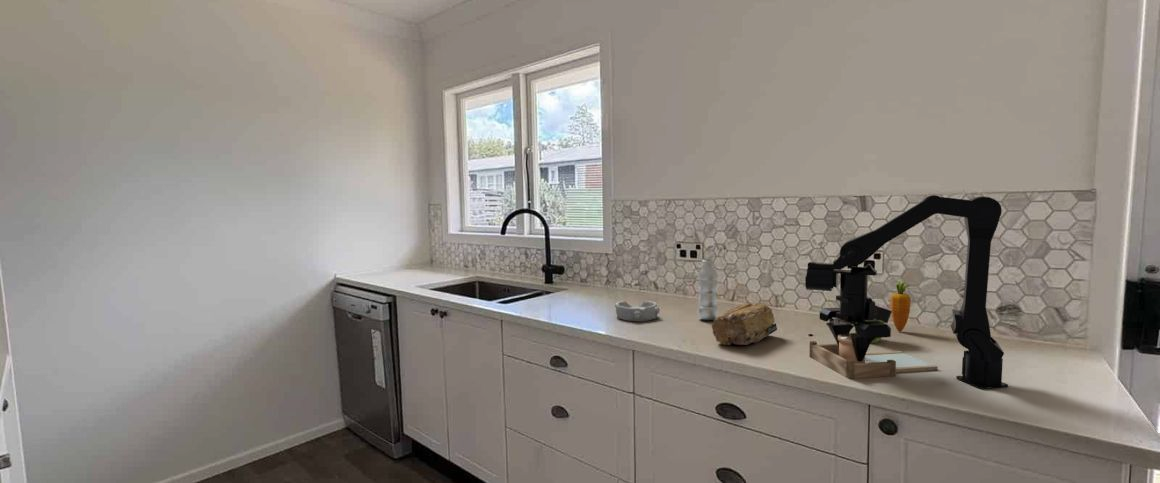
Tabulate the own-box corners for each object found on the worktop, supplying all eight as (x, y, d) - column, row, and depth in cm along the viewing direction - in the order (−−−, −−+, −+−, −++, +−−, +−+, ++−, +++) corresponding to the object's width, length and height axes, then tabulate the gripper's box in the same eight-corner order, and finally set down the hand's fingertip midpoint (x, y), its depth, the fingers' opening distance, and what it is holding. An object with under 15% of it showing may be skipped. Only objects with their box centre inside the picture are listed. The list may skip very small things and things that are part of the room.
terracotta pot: (872, 369, 120) (873, 339, 120) (847, 370, 120) (848, 341, 119) (855, 360, 127) (856, 332, 126) (831, 362, 126) (832, 334, 125)
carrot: (891, 328, 155) (892, 279, 153) (910, 331, 152) (912, 280, 150) (888, 332, 151) (889, 281, 150) (908, 335, 148) (909, 283, 146)
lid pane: (937, 369, 119) (937, 366, 119) (892, 372, 118) (893, 369, 118) (900, 354, 131) (900, 351, 131) (859, 356, 130) (859, 353, 130)
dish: (610, 315, 182) (610, 301, 181) (646, 311, 186) (646, 298, 185) (626, 324, 168) (626, 309, 167) (665, 320, 172) (665, 306, 171)
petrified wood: (751, 351, 135) (743, 313, 136) (708, 352, 144) (700, 317, 144) (780, 332, 150) (772, 299, 150) (738, 335, 158) (731, 303, 159)
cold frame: (895, 376, 116) (895, 358, 115) (849, 378, 115) (849, 361, 114) (850, 354, 132) (850, 338, 131) (809, 356, 131) (809, 341, 130)
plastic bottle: (693, 319, 173) (693, 259, 171) (709, 316, 175) (709, 258, 174) (705, 323, 167) (705, 261, 165) (722, 320, 170) (722, 260, 168)
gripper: (914, 298, 113) (912, 368, 115) (860, 284, 132) (858, 344, 133) (867, 301, 112) (865, 371, 114) (818, 286, 131) (817, 346, 132)
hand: (852, 357), depth 123 cm, fingers closed on terracotta pot, 6 cm apart
